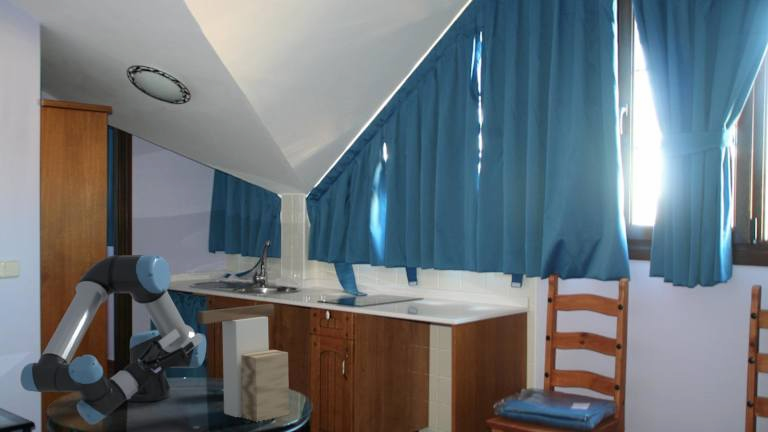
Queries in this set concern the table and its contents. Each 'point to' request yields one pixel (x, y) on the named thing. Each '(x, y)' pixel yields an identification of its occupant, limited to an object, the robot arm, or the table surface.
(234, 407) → the white block
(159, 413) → the table surface
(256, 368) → the oak block
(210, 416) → the table surface
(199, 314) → the walnut bar
